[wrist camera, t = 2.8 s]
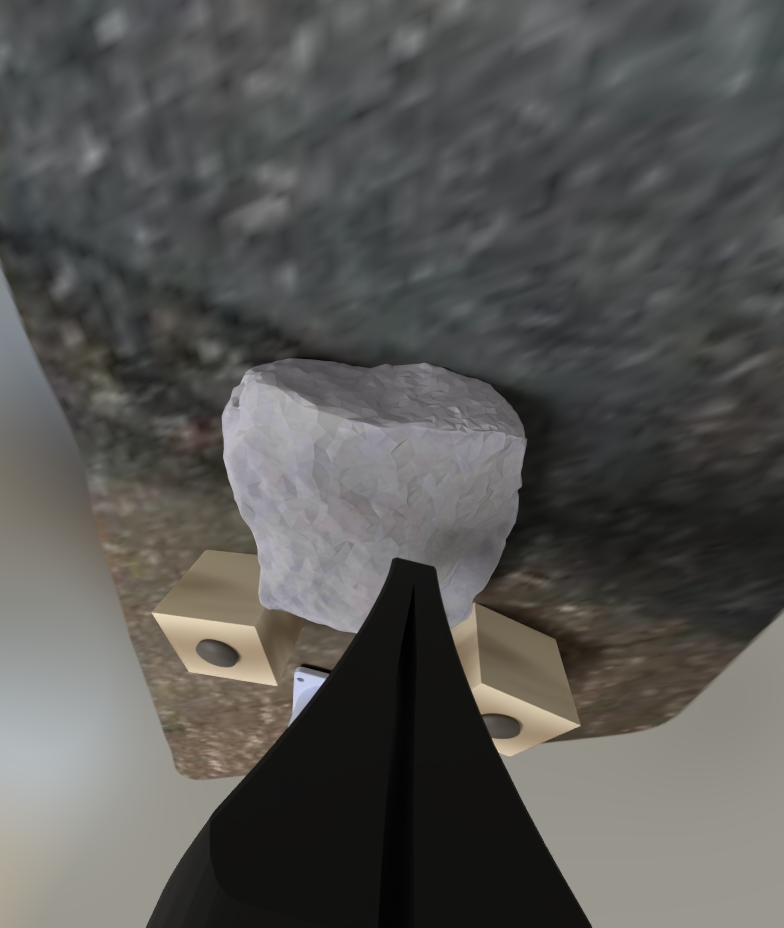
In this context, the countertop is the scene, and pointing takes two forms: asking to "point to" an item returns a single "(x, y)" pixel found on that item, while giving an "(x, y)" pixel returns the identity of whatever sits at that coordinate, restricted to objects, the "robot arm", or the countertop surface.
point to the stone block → (371, 481)
